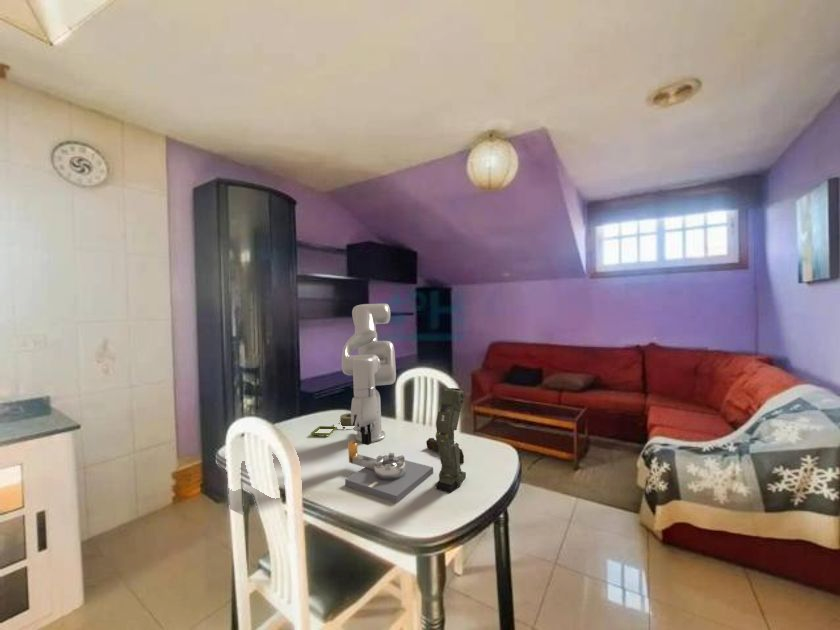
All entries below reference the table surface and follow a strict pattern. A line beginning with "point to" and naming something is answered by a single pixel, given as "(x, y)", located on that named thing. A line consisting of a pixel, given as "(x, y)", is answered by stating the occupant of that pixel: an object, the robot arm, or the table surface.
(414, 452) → the table surface
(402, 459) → the crank handle
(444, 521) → the table surface
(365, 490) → the nut plate
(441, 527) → the table surface
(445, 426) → the mechanical leg
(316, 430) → the green rectangular frame
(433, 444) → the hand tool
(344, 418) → the flange
